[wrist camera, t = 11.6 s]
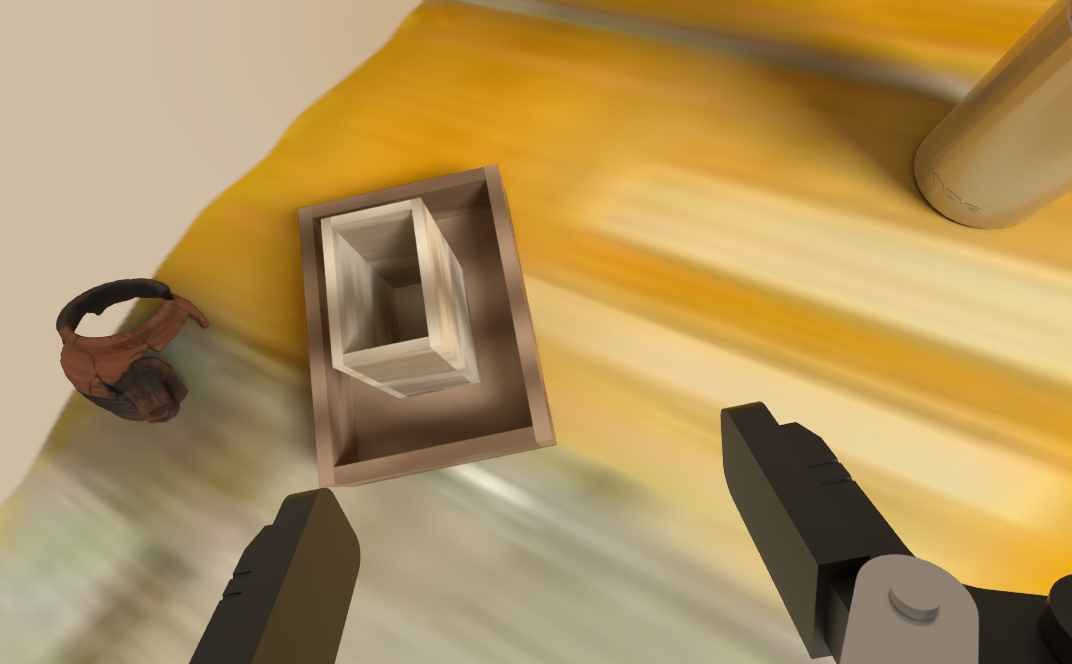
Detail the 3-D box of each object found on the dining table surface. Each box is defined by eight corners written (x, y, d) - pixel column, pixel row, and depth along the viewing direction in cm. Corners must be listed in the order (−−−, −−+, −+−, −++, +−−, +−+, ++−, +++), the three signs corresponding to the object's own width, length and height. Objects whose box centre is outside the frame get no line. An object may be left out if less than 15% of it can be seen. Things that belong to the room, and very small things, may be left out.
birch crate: (387, 285, 43) (320, 219, 32) (462, 269, 42) (420, 197, 32) (400, 398, 40) (332, 367, 30) (480, 382, 40) (441, 344, 29)
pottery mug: (82, 381, 44) (19, 305, 39) (202, 327, 49) (163, 253, 44) (132, 479, 39) (68, 407, 33) (264, 407, 43) (228, 333, 38)
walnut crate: (329, 238, 45) (298, 209, 40) (507, 198, 45) (497, 164, 40) (352, 486, 39) (319, 486, 35) (556, 444, 39) (552, 438, 34)
